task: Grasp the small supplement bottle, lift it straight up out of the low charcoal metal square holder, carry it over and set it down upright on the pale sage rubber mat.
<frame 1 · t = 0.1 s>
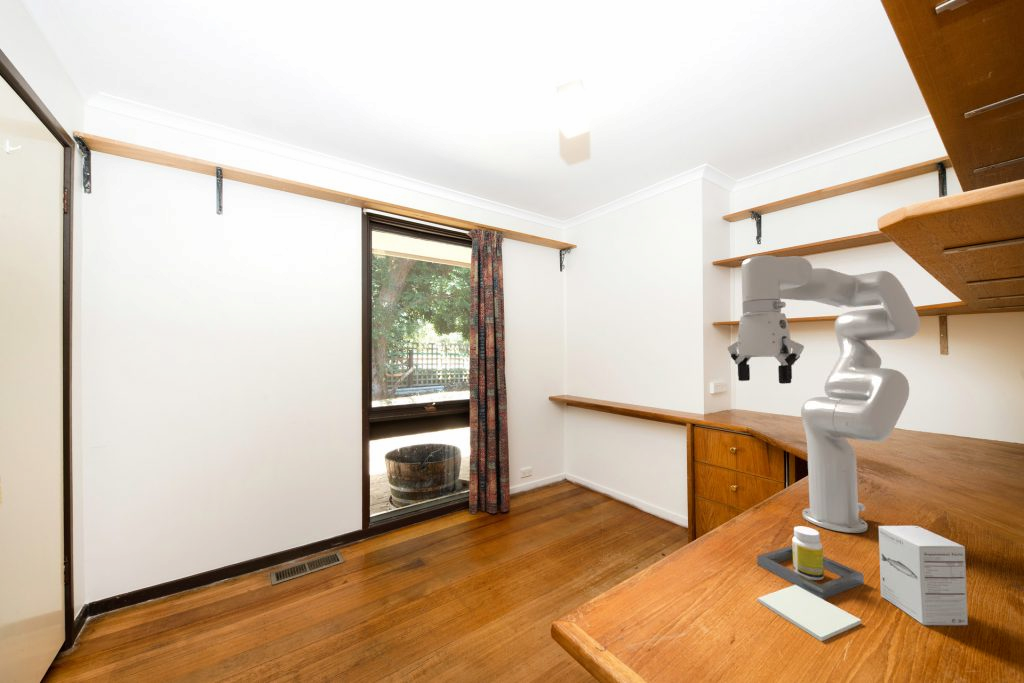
hand: (763, 381, 89), 37 cm above the table, tool pointing down, fingers open, 9 cm apart
mat: (807, 612, 64), on the table
supplement bottle: (808, 574, 75), resting in holder
supplement box: (922, 612, 64), on the table
holder: (808, 573, 75), on the table
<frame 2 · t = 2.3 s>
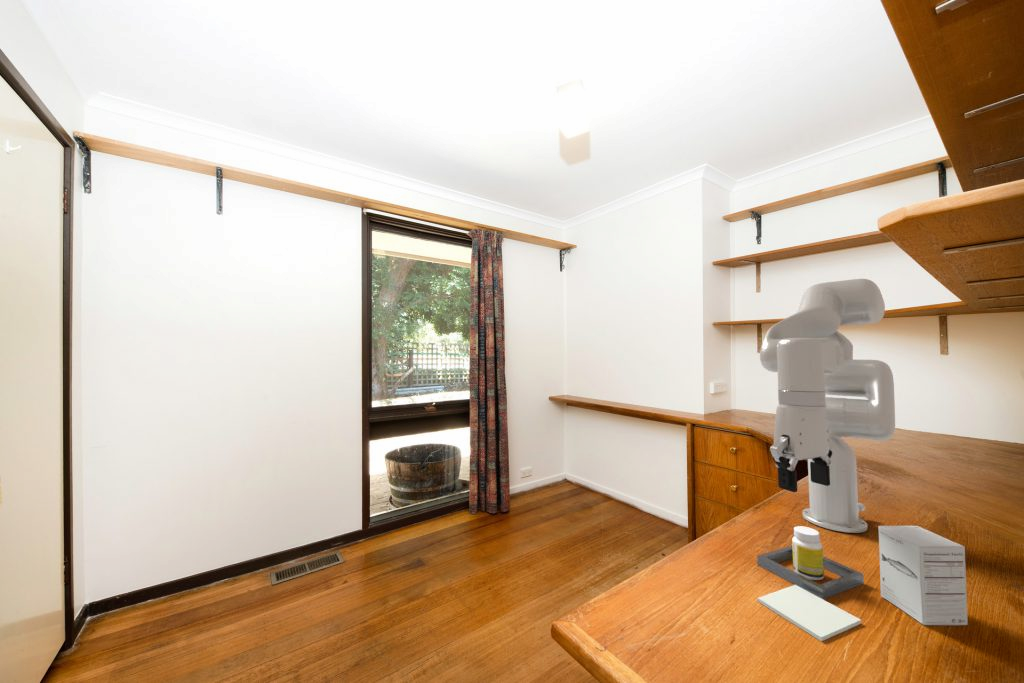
hand: (804, 486, 75), 17 cm above the table, tool pointing down, fingers open, 9 cm apart
nothing on the table moved.
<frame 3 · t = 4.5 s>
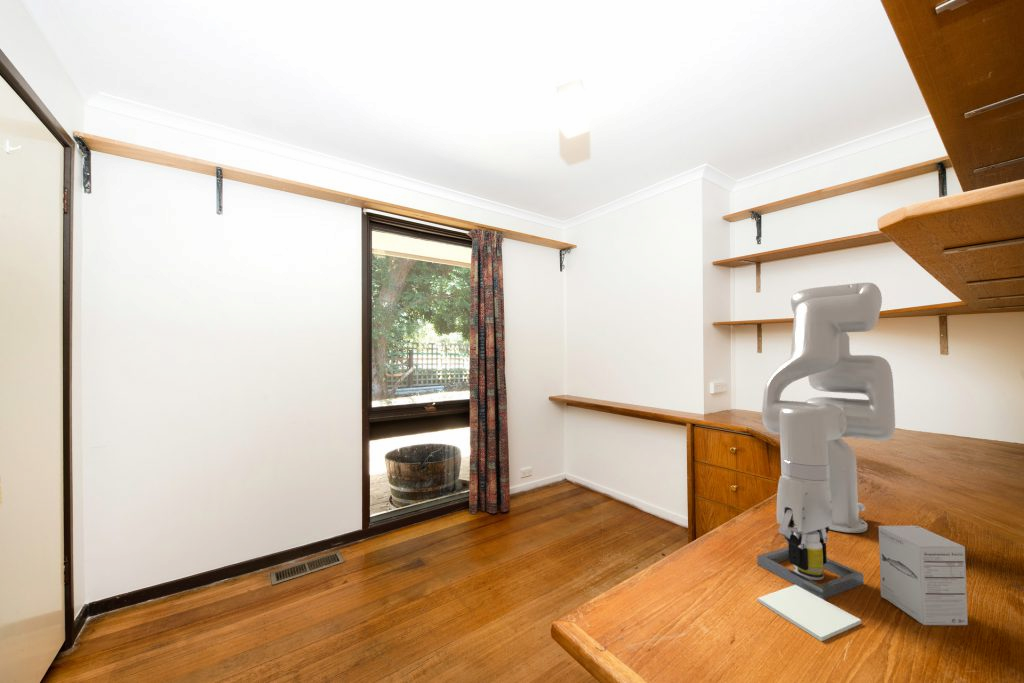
hand: (807, 562, 75), 2 cm above the table, tool pointing down, fingers closed on supplement bottle, 4 cm apart
supplement bottle: (808, 574, 75), resting in holder, touching gripper
everything else where it was.
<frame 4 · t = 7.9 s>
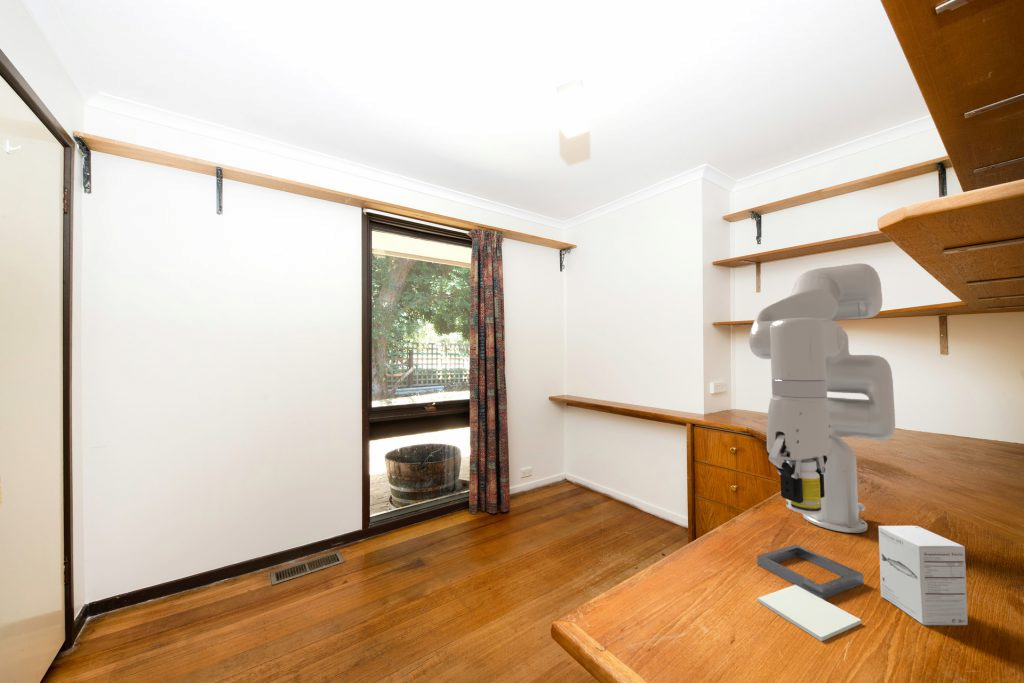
hand: (802, 496, 64), 19 cm above the table, tool pointing down, fingers closed on supplement bottle, 4 cm apart
supplement bottle: (803, 510, 64), point 17 cm above the table, touching gripper
everything else where it was.
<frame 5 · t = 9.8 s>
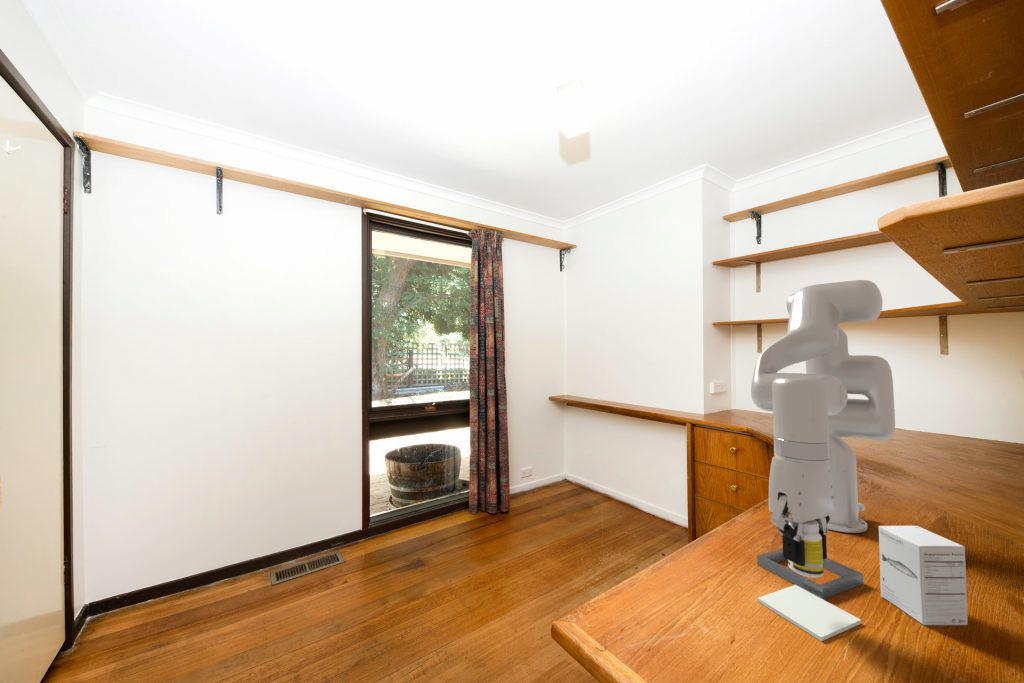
hand: (804, 557, 64), 9 cm above the table, tool pointing down, fingers closed on supplement bottle, 4 cm apart
supplement bottle: (805, 571, 64), point 7 cm above the table, touching gripper
everything else where it was.
when the fingers open (4 cm above the table, at t = 11.2 s): supplement bottle drops 1 cm, resting on mat.
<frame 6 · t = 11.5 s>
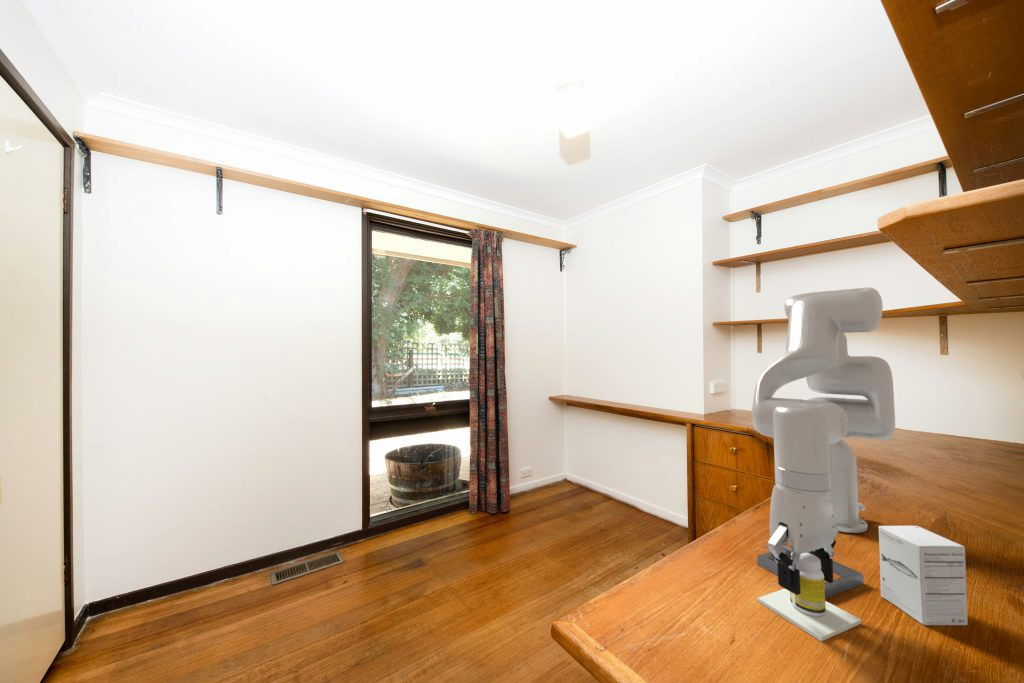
hand: (805, 583, 64), 5 cm above the table, tool pointing down, fingers open, 7 cm apart
supplement bottle: (807, 608, 64), resting on mat
everything else where it was.
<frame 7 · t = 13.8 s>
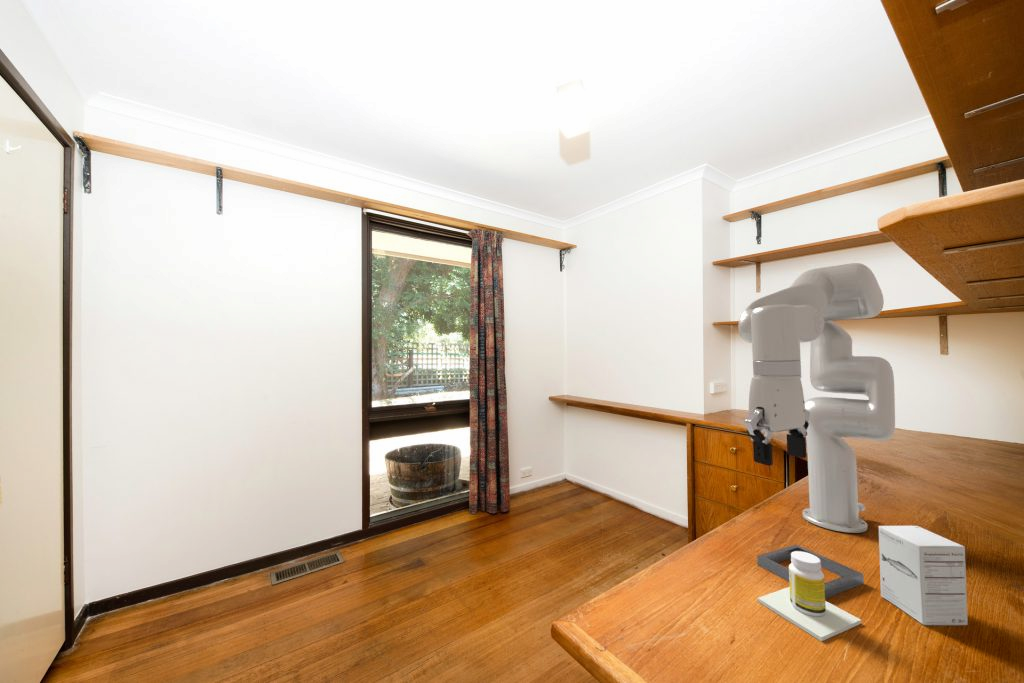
hand: (780, 459, 72), 23 cm above the table, tool pointing down, fingers open, 9 cm apart
nothing on the table moved.
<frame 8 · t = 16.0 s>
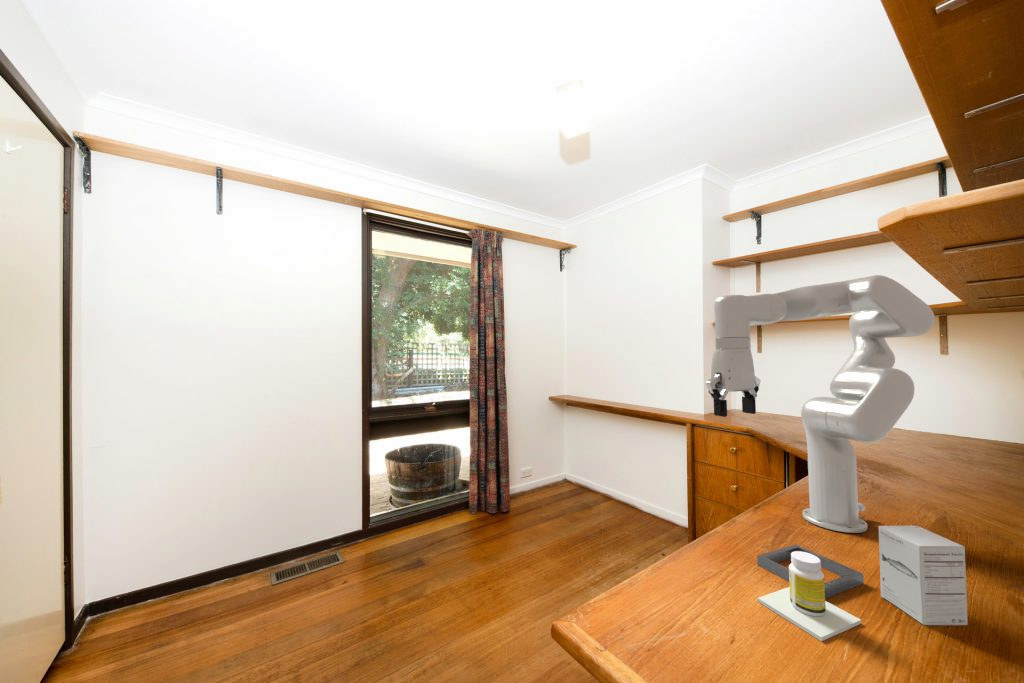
hand: (735, 414, 94), 28 cm above the table, tool pointing down, fingers open, 9 cm apart
nothing on the table moved.
at the end: supplement bottle inside the target area on the mat (0.3 cm from its centre), point 0.4 cm above the mat's base; supplement bottle tilted 0°; the gripper is holding nothing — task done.
